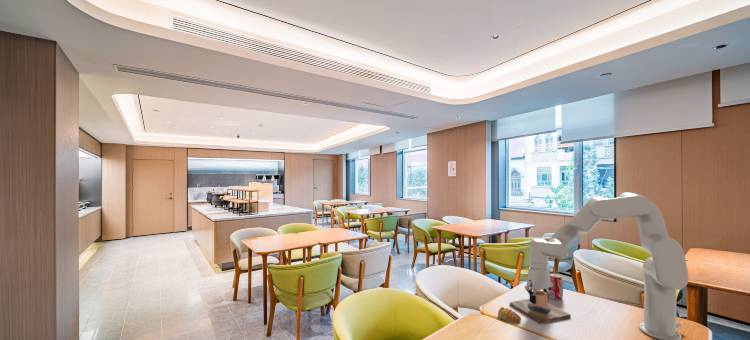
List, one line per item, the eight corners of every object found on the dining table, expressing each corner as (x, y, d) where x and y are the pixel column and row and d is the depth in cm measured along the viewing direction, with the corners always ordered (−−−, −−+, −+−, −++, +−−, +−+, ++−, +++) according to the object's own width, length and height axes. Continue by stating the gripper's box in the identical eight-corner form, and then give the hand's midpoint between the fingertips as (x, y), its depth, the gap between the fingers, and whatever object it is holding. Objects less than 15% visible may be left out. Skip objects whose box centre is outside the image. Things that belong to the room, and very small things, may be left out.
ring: (538, 298, 143) (538, 288, 143) (551, 305, 136) (551, 294, 136) (527, 300, 141) (527, 290, 141) (539, 307, 134) (539, 296, 134)
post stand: (538, 300, 150) (538, 287, 150) (570, 317, 132) (570, 303, 132) (509, 305, 145) (509, 292, 145) (539, 323, 127) (539, 309, 127)
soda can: (562, 296, 154) (562, 274, 154) (563, 301, 148) (563, 278, 148) (547, 293, 158) (547, 271, 157) (547, 298, 152) (547, 275, 151)
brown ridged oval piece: (523, 320, 131) (523, 311, 131) (517, 325, 127) (517, 317, 126) (503, 312, 138) (503, 304, 138) (496, 317, 134) (496, 309, 134)
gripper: (546, 260, 144) (546, 296, 144) (518, 264, 139) (518, 300, 140) (560, 265, 137) (560, 302, 137) (530, 269, 132) (530, 308, 132)
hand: (539, 301), depth 138 cm, fingers closed on ring, 7 cm apart
